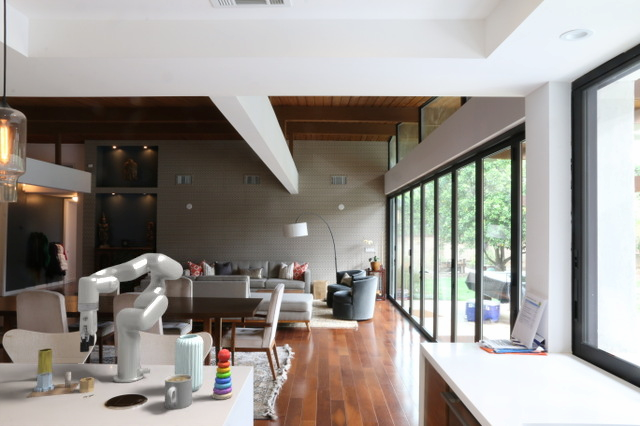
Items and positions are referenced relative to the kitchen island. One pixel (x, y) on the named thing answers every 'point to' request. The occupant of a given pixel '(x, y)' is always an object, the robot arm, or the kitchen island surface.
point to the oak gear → (86, 385)
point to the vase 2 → (190, 358)
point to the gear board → (57, 388)
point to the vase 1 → (44, 361)
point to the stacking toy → (223, 377)
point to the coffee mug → (178, 391)
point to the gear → (44, 383)
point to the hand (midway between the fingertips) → (87, 348)
